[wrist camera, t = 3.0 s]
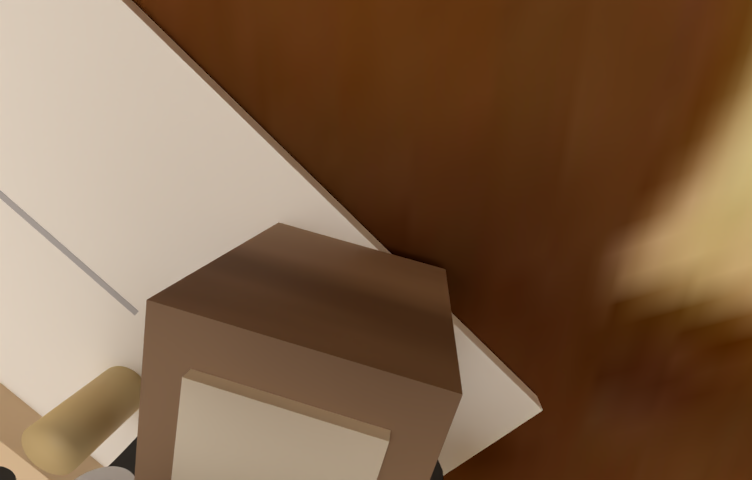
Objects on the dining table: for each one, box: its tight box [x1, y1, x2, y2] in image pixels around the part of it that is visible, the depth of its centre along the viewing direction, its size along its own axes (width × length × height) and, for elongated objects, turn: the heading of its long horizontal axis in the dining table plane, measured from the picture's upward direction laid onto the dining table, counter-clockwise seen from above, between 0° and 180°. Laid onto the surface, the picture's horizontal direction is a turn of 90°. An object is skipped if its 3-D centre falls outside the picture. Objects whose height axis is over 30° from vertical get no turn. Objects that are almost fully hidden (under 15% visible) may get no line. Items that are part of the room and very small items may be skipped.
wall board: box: [0, 0, 543, 480], centre depth 10 cm, size 14×24×3 cm, turn 46°
